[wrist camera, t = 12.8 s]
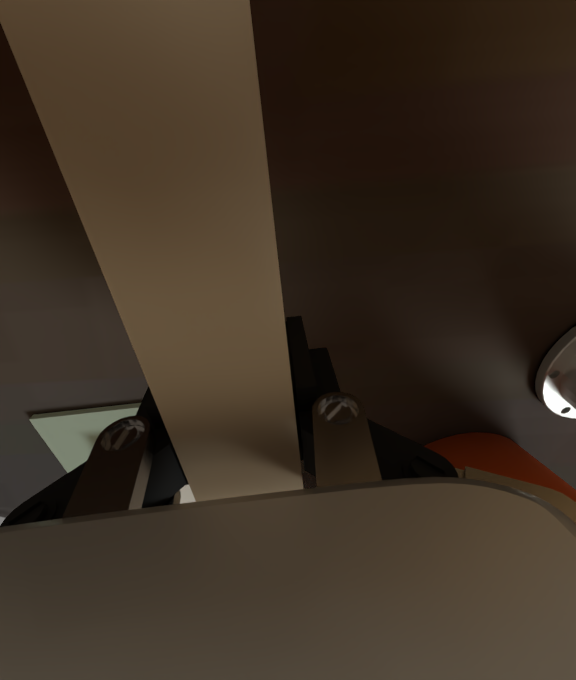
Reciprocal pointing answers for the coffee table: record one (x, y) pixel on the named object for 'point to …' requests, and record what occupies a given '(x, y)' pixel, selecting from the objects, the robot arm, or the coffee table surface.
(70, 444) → the mat
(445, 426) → the coffee table surface
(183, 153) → the wooden block
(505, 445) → the flowerpot
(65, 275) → the coffee table surface
